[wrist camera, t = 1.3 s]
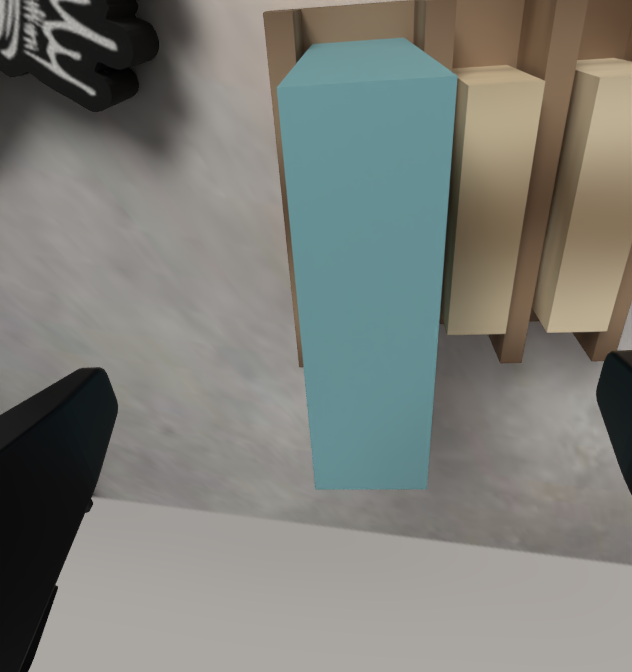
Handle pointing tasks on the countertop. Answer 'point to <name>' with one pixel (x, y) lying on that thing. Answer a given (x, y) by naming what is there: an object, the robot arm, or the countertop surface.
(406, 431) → the block
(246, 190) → the countertop surface
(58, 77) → the sign
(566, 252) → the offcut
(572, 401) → the countertop surface
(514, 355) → the rack
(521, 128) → the block
